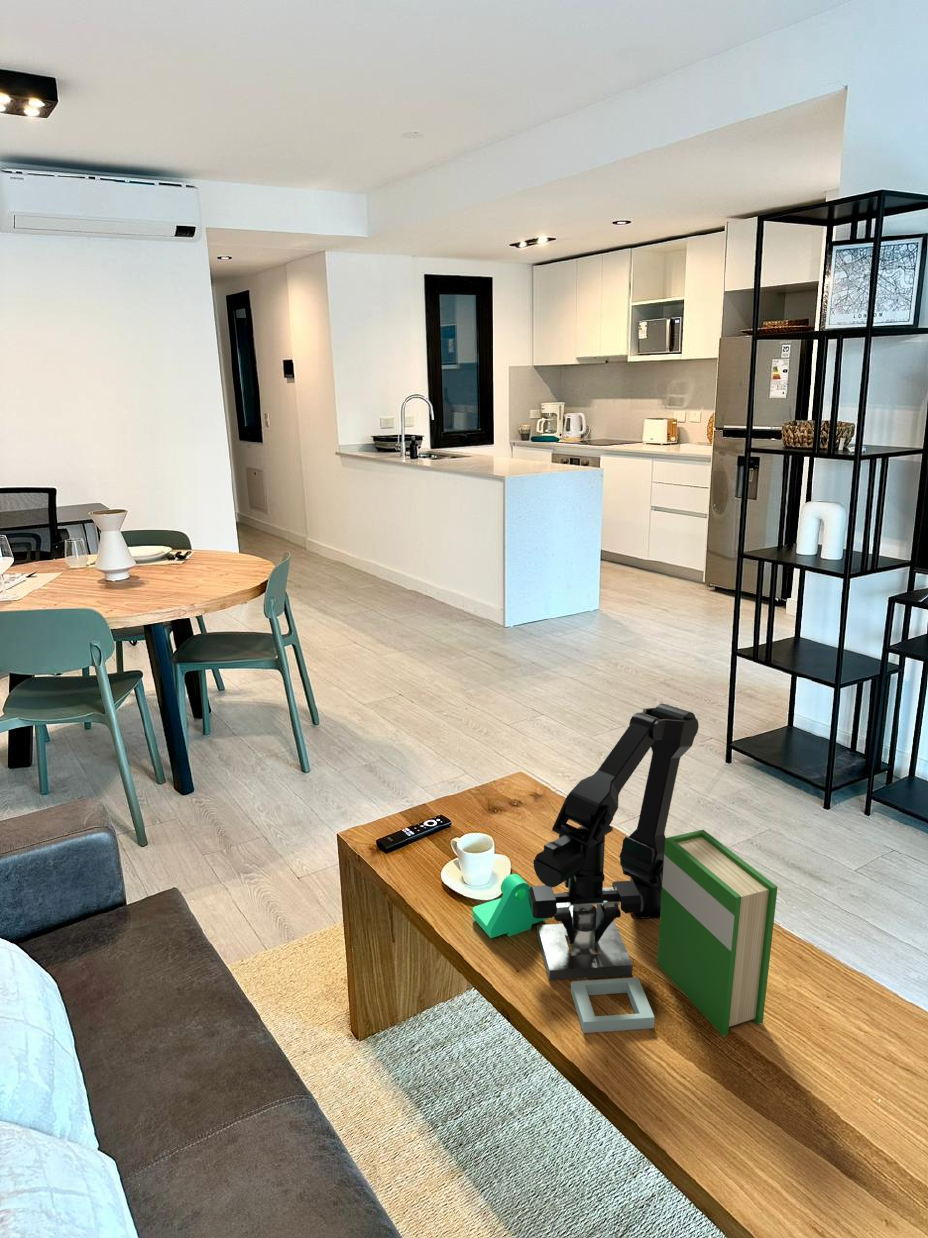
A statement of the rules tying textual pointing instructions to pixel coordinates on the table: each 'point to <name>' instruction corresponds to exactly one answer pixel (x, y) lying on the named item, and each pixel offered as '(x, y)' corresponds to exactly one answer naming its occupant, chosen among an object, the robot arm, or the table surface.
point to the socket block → (565, 966)
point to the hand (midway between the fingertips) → (583, 941)
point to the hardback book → (715, 929)
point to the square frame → (613, 1022)
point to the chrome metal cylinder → (584, 930)
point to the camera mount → (507, 910)
